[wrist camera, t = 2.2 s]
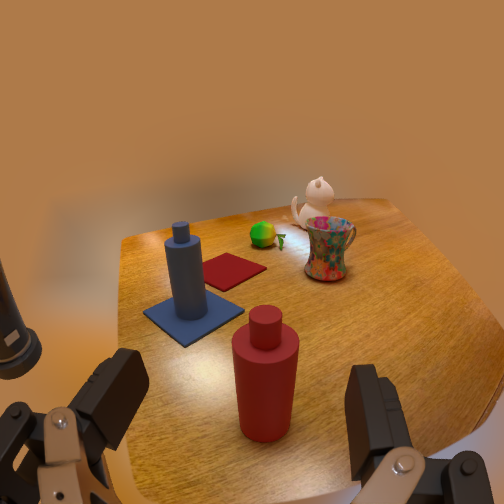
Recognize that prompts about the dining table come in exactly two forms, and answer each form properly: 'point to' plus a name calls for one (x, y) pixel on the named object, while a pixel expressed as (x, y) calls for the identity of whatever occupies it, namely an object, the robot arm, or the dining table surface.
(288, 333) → the red bottle
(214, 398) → the dining table surface
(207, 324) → the blue mat
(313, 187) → the cat figurine
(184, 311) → the blue bottle
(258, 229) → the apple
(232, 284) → the red mat
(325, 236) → the mug
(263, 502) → the dining table surface
